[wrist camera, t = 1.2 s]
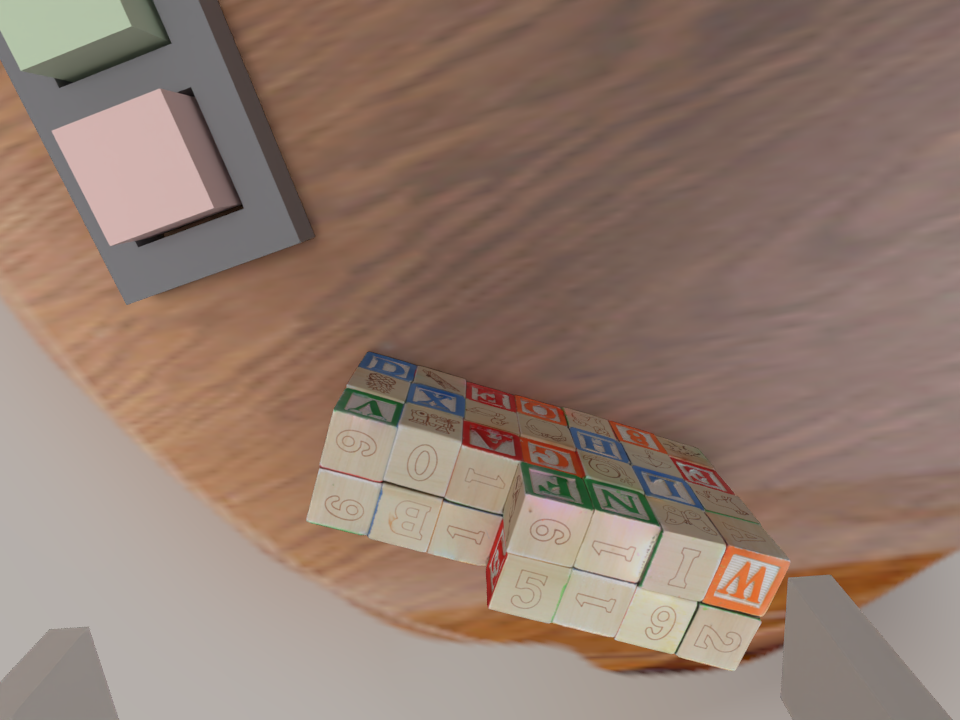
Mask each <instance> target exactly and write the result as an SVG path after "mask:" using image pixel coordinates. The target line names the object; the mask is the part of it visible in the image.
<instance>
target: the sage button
mask: <svg viewBox="0 0 960 720" xmlns="http://www.w3.org/2000/svg"><path fill="white" fill-rule="evenodd" d="M0 31H1V33H2V35H3V37H4V39H5V41H6V43H7V45H8V47H9V49H10V51H11V53H12V54H13V56H14V58H15V60H16V62H17V64H18V66H19V68H20V70H21V71H24V72H28V73H33V74H38V75H42V76H47V77H52V78H56V79H61V80H66V81H70V82H76V81H79V80H81V79H84V78H86V77H89V76H91V75H94V74H96V73H99V72H101V71H104V70H106V69H109V68H111V67H114V66H116V65H119V64H121V63H124V62H127V61H129V60H132V59H134V58H137V57H139V56H142V55H144V54H147V53H149V52H152V51H154V50H157V49H159V48H162V47H164V46H167V45H169V44H172V43H171V41H170V38H169V36H168V34H167V31H166V29H165V27H164V25H163V22H162V20H161V18H160V15H159V13H158V11H157V9H156V6H155V4H154V2H153V0H0Z"/></svg>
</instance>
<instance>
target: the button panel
mask: <svg viewBox="0 0 960 720" xmlns="http://www.w3.org/2000/svg"><path fill="white" fill-rule="evenodd" d="M153 2H154V4H155V6H156V9H157V11H158V13H159V15H160V18H161V20H162V22H163V25H164V27H165V29H166V31H167V34H168V36H169V38H170V41H171V43H172V44H169V45H167V46H164V47H162V48H159V49H157V50H154V51H152V52H149V53H147V54H144V55H142V56H139V57H137V58H134V59H132V60H129V61H127V62H124V63H121V64H119V65H116V66H114V67H111V68H109V69H106V70H104V71H101V72H99V73H96V74H94V75H91V76H89V77H86V78H84V79H81V80H79V81H76V82H70V81H66V80H61V79H56V78H52V77H47V76H42V75H38V74H33V73H28V72H24V71H21V70H20V68H19V66H18V64H17V62H16V60H15V58H14V56H13V54H12V53H11V51H10V49H9V47H8V45H7V43H6V41H5V39H4V37H3V35H2V33H1V31H0V60H1V62H2V64H3V66H4V68H5V70H6V72H7V73H8V75H9V77H10V79H11V81H12V83H13V85H14V87H15V89H16V91H17V93H18V95H19V97H20V99H21V101H22V103H23V105H24V107H25V108H26V110H27V112H28V114H29V116H30V118H31V120H32V122H33V124H34V126H35V128H36V130H37V132H38V134H39V136H40V138H41V140H42V142H43V144H44V145H45V147H46V149H47V151H48V153H49V155H50V157H51V159H52V161H53V163H54V165H55V167H56V169H57V171H58V173H59V175H60V177H61V179H62V180H63V182H64V184H65V186H66V188H67V190H68V192H69V194H70V196H71V198H72V200H73V202H74V204H75V206H76V208H77V210H78V212H79V214H80V215H81V217H82V219H83V221H84V223H85V225H86V227H87V229H88V231H89V233H90V235H91V237H92V239H93V241H94V243H95V245H96V247H97V249H98V250H99V252H100V254H101V256H102V258H103V260H104V262H105V264H106V266H107V268H108V270H109V272H110V274H111V276H112V278H113V280H114V282H115V284H116V285H117V287H118V289H119V291H120V293H121V295H122V297H123V299H124V301H125V303H126V305H128V304H131V303H133V302H136V301H139V300H142V299H145V298H147V297H150V296H153V295H156V294H159V293H161V292H164V291H167V290H170V289H173V288H175V287H178V286H181V285H184V284H187V283H189V282H192V281H195V280H198V279H201V278H203V277H206V276H209V275H212V274H215V273H217V272H220V271H223V270H226V269H229V268H231V267H234V266H237V265H240V264H243V263H245V262H248V261H251V260H254V259H257V258H259V257H262V256H265V255H268V254H271V253H273V252H276V251H279V250H282V249H285V248H287V247H290V246H293V245H296V244H299V243H301V242H304V241H306V240H309V239H311V238H314V237H315V235H314V233H313V230H312V228H311V225H310V223H309V221H308V218H307V216H306V213H305V211H304V209H303V206H302V204H301V201H300V199H299V196H298V194H297V192H296V189H295V187H294V184H293V182H292V179H291V177H290V175H289V172H288V170H287V167H286V165H285V163H284V160H283V158H282V155H281V153H280V150H279V148H278V146H277V143H276V141H275V138H274V136H273V134H272V131H271V129H270V126H269V124H268V121H267V119H266V117H265V114H264V112H263V109H262V107H261V104H260V102H259V100H258V97H257V95H256V92H255V90H254V88H253V85H252V83H251V80H250V78H249V75H248V73H247V71H246V68H245V66H244V63H243V61H242V58H241V56H240V54H239V51H238V49H237V46H236V44H235V42H234V39H233V37H232V34H231V32H230V29H229V27H228V25H227V22H226V20H225V17H224V15H223V12H222V10H221V8H220V5H219V3H218V0H153ZM160 88H161V89H165V90H168V91H172V92H176V93H180V94H184V95H188V96H192V97H196V100H197V102H198V104H199V106H200V109H201V111H202V113H203V116H204V118H205V120H206V122H207V125H208V127H209V129H210V132H211V134H212V136H213V138H214V141H215V143H216V145H217V147H218V150H219V152H220V154H221V157H222V159H223V161H224V163H225V166H226V168H227V170H228V172H229V175H230V177H231V179H232V182H233V184H234V186H235V188H236V191H237V193H238V195H239V197H240V200H241V202H242V204H243V207H244V209H242V210H239V211H236V212H233V213H231V214H228V215H225V216H222V217H220V218H217V219H214V220H212V221H209V222H206V223H203V224H201V225H198V226H195V227H192V228H190V229H187V230H184V231H181V232H179V233H176V234H173V235H171V236H168V237H165V238H164V236H163V234H160V235H157V236H155V237H152V238H147V239H142V240H137V241H133V242H128V243H123V244H118V245H113V246H110V245H109V243H108V241H107V239H106V237H105V235H104V234H103V232H102V230H101V228H100V226H99V224H98V222H97V220H96V218H95V216H94V214H93V212H92V210H91V208H90V206H89V204H88V202H87V200H86V198H85V196H84V194H83V192H82V190H81V188H80V186H79V184H78V182H77V180H76V178H75V176H74V174H73V172H72V171H71V169H70V167H69V165H68V163H67V161H66V159H65V157H64V155H63V153H62V151H61V149H60V147H59V145H58V143H57V141H56V139H55V137H54V135H53V133H52V130H55V129H57V128H60V127H62V126H65V125H67V124H70V123H73V122H75V121H78V120H80V119H83V118H85V117H88V116H90V115H93V114H96V113H98V112H101V111H103V110H106V109H108V108H111V107H113V106H116V105H119V104H121V103H124V102H126V101H129V100H131V99H134V98H136V97H139V96H142V95H144V94H147V93H149V92H152V91H154V90H157V89H160Z"/></svg>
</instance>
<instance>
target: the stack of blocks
mask: <svg viewBox="0 0 960 720" xmlns="http://www.w3.org/2000/svg"><path fill="white" fill-rule="evenodd" d="M306 521H307V522H310V523H312V524H317V525H322V526H326V527H330V528H334V529H338V530H342V531H345V532H349V533H354V534H358V535H367V536H368V538H370V539H373V540H377V541H381V542H385V543H389V544H392V545H396V546H400V547H405V548H409V549H412V550H416V551H420V552H427V553H429V554H431V555H434V556H439V557H442V558H446V559H450V560H455V561H459V562H463V563H468V564H472V565H477V566H485V565H487V567H486V581H487V606H488V609H492V610H495V611H499V612H503V613H507V614H511V615H515V616H520V617H524V618H528V619H532V620H536V621H540V622H545V623H554V624H558V625H561V626H564V627H568V628H572V629H576V630H581V631H586V632H590V633H593V634H597V635H601V636H606V637H613V638H614V639H615V640H618V641H621V642H625V643H629V644H633V645H637V646H641V647H645V648H649V649H653V650H657V651H661V652H665V653H669V654H673V653H675V654H676V655H677V656H678V657H680V658H684V659H688V660H691V661H695V662H699V663H703V664H707V665H711V666H714V667H718V668H722V669H726V670H730V671H734V670H736V669H737V667H738V665H739V663H740V661H741V659H742V657H743V655H744V653H745V651H746V649H747V648H748V646H749V644H750V642H751V640H752V638H753V636H754V635H755V633H756V631H757V629H758V628H759V626H760V624H761V620H760V618H759V617H762V616H763V615H764V614H765V613H766V611H767V610H768V608H769V606H770V604H771V602H772V600H773V598H774V596H775V594H776V592H777V590H778V588H779V586H780V584H781V582H782V580H783V578H784V576H785V574H786V572H787V570H788V568H789V565H790V560H789V558H788V557H787V556H786V555H785V554H784V552H783V551H782V550H781V549H780V548H779V546H778V545H777V544H776V543H775V542H774V540H773V539H772V538H771V537H770V536H769V535H768V534H767V532H766V531H765V530H764V529H763V528H762V526H761V524H760V523H759V521H758V520H757V519H756V518H755V517H754V516H753V514H752V513H751V512H750V510H749V509H748V508H747V507H746V505H745V504H744V503H743V502H742V501H741V499H740V498H739V497H738V496H735V494H734V493H733V492H732V490H731V489H730V488H729V486H728V485H727V484H726V483H725V482H724V481H723V480H722V478H721V477H720V476H719V475H718V474H717V473H716V472H715V468H714V466H713V465H712V464H711V463H710V462H709V461H708V459H707V458H706V457H705V456H704V455H703V454H702V453H701V452H700V450H699V449H697V448H695V447H692V446H688V445H685V444H681V443H678V442H675V441H672V440H668V439H665V438H662V437H658V436H655V435H654V434H652V433H649V432H646V431H643V430H639V429H636V428H633V427H629V426H626V425H623V424H619V423H616V422H613V421H608V420H606V419H603V418H599V417H597V416H593V415H590V414H586V413H583V412H580V411H576V410H572V409H569V408H565V407H562V408H559V407H556V406H553V405H549V404H546V403H541V402H539V401H535V400H532V399H528V398H525V397H522V396H518V395H511V394H508V393H505V392H502V391H498V390H495V389H492V388H488V387H484V386H481V385H477V384H474V383H471V382H466V380H465V379H463V378H460V377H456V376H453V375H449V374H446V373H443V372H439V371H436V370H433V369H429V368H426V367H422V366H416V365H413V364H411V363H407V362H404V361H401V360H397V359H394V358H390V357H387V356H383V355H379V354H376V353H372V352H367V353H366V355H365V356H364V358H363V360H362V361H361V363H360V364H359V366H358V368H356V370H355V372H354V373H353V375H352V376H351V378H350V380H349V381H348V383H347V385H346V388H345V390H344V392H343V393H342V395H341V397H340V399H339V400H338V402H337V404H336V406H335V407H334V410H333V413H332V417H331V421H330V425H329V429H328V433H327V437H326V441H325V445H324V448H323V452H322V456H321V460H320V468H319V472H318V476H317V479H316V483H315V487H314V491H313V495H312V499H311V503H310V507H309V511H308V514H307V519H306Z"/></svg>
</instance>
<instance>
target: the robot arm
mask: <svg viewBox="0 0 960 720" xmlns="http://www.w3.org/2000/svg"><path fill="white" fill-rule="evenodd" d="M781 699H782V701H783V703H784V705H785V707H786V708H787V710H788V712H789V714H790V716H791V717H792V719H793V720H952V719H951V717H950V716H949V715H948V714H947V713H946V711H945V710H944V709H943V708H942V707H941V705H940V704H939V703H938V702H937V701H936V699H935V698H934V697H933V696H932V695H931V693H929V691H928V690H927V689H926V688H925V686H924V685H923V684H922V683H921V682H920V680H919V679H918V678H917V677H916V676H915V675H914V673H913V672H912V671H911V670H910V669H909V668H908V666H907V665H906V664H905V663H904V661H903V660H902V659H901V658H900V657H899V655H898V654H897V653H896V652H895V651H894V650H893V648H892V647H891V646H890V645H889V644H888V642H887V641H886V640H885V639H884V638H883V636H882V635H881V634H880V633H879V632H878V630H877V629H876V628H875V627H874V626H873V625H872V623H871V622H870V621H869V620H868V619H867V617H866V616H865V615H864V614H863V613H862V611H861V610H860V609H859V608H858V607H857V606H856V604H855V603H854V602H853V601H852V600H851V598H850V597H849V596H848V595H847V594H846V592H845V591H844V590H843V589H842V588H841V587H840V585H839V584H838V583H837V582H836V581H835V579H834V578H833V577H832V576H831V575H822V576H807V577H793V578H788V589H787V605H786V620H785V635H784V651H783V666H782V681H781ZM0 720H119V718H118V715H117V712H116V709H115V706H114V703H113V700H112V697H111V694H110V690H109V687H108V685H107V681H106V678H105V675H104V672H103V669H102V666H101V663H100V660H99V657H98V654H97V651H96V648H95V645H94V642H93V639H92V636H91V633H90V630H89V627H77V628H64V629H49V630H48V632H46V634H45V635H44V636H43V637H42V638H41V639H40V640H39V641H38V642H37V643H36V645H34V647H32V649H31V650H30V651H29V652H28V653H27V654H26V655H25V656H24V657H23V658H22V659H21V660H20V661H19V662H18V663H17V665H16V666H15V667H14V668H13V669H12V670H11V671H10V672H9V673H8V674H7V675H6V676H5V677H4V679H3V680H2V681H1V682H0Z"/></svg>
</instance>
